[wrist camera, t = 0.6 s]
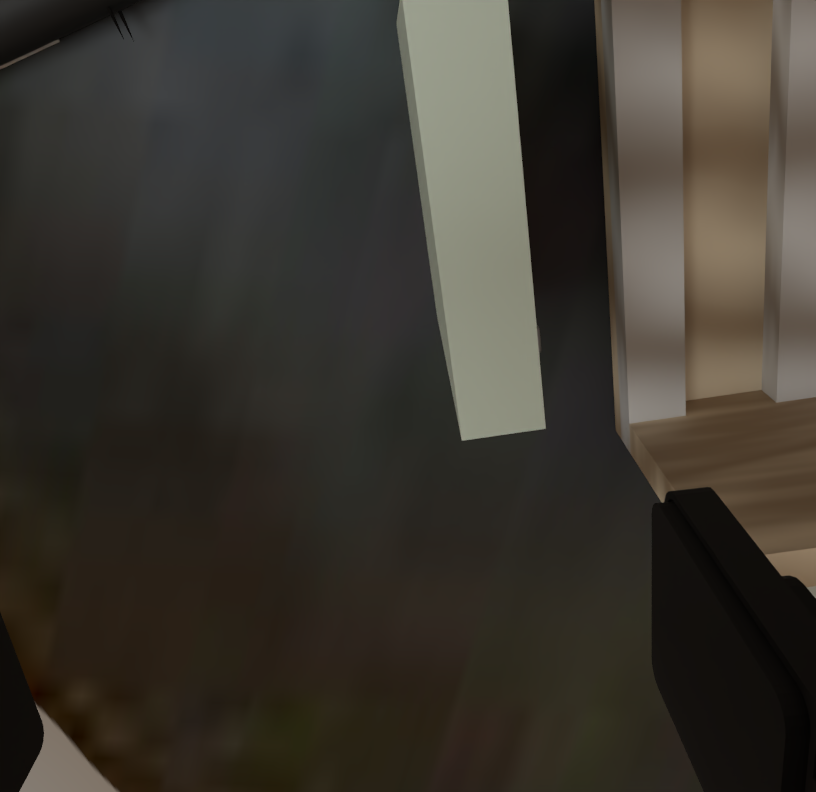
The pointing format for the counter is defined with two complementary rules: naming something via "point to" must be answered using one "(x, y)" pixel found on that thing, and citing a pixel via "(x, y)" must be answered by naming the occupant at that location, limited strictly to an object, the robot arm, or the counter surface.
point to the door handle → (48, 23)
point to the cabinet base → (715, 254)
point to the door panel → (474, 208)
